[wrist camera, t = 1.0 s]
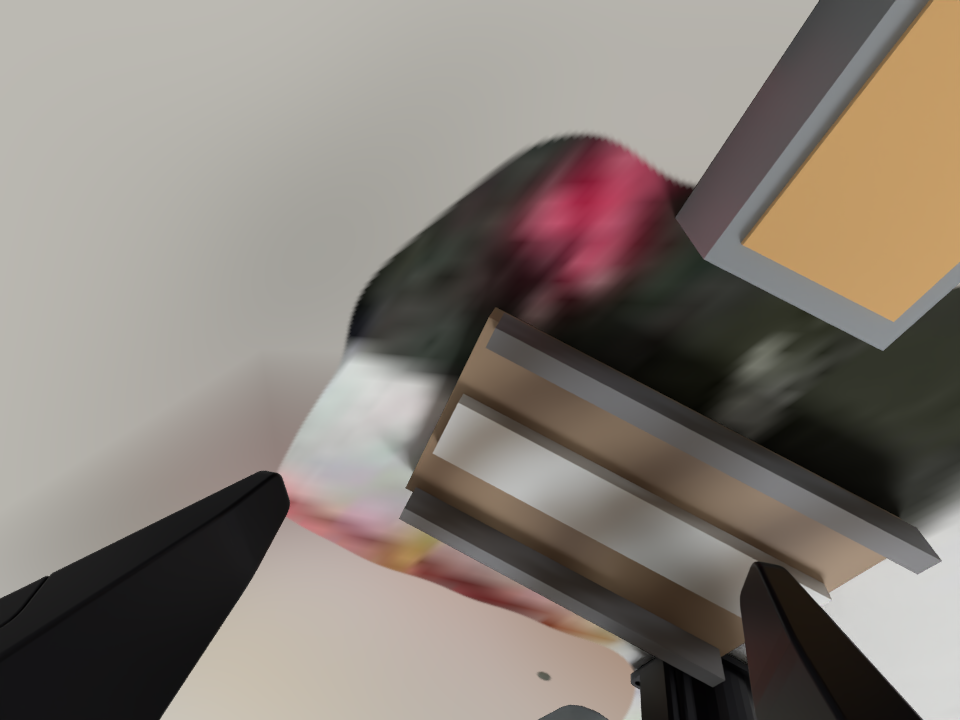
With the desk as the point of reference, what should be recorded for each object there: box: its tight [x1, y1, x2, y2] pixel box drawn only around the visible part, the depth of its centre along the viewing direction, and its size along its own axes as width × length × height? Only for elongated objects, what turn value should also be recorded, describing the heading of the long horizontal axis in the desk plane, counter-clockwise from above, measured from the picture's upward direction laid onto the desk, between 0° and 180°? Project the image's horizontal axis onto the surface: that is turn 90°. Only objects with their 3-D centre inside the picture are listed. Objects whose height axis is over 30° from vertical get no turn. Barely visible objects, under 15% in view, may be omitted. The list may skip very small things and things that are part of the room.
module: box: [675, 0, 960, 351], centre depth 12 cm, size 5×7×6 cm
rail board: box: [399, 307, 941, 687], centre depth 21 cm, size 20×13×3 cm, turn 67°
